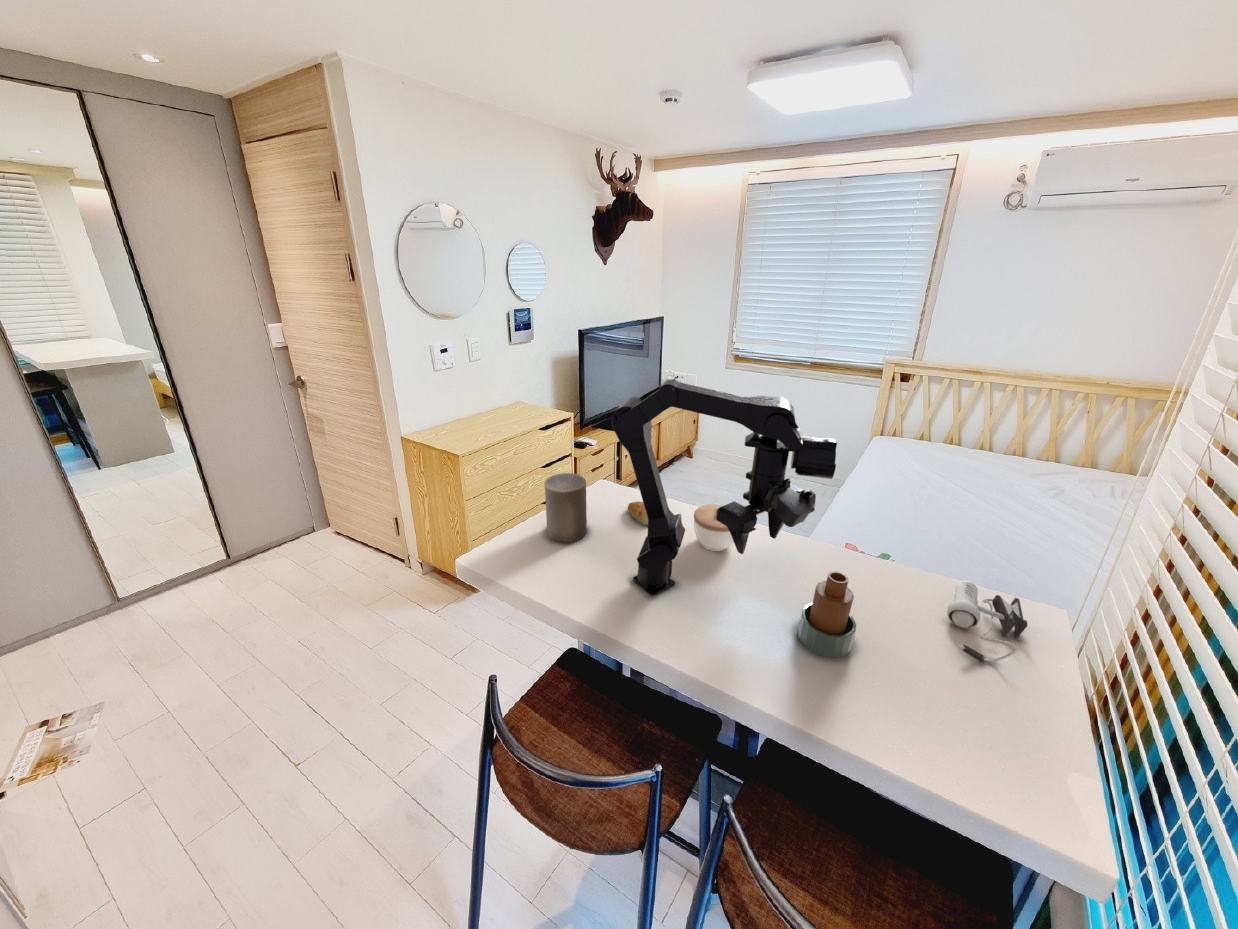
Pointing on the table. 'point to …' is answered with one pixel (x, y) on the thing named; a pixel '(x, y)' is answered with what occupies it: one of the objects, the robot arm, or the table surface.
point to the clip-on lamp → (968, 614)
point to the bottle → (831, 604)
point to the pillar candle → (566, 507)
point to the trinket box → (711, 529)
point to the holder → (825, 637)
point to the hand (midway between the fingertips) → (756, 545)
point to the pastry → (638, 512)
